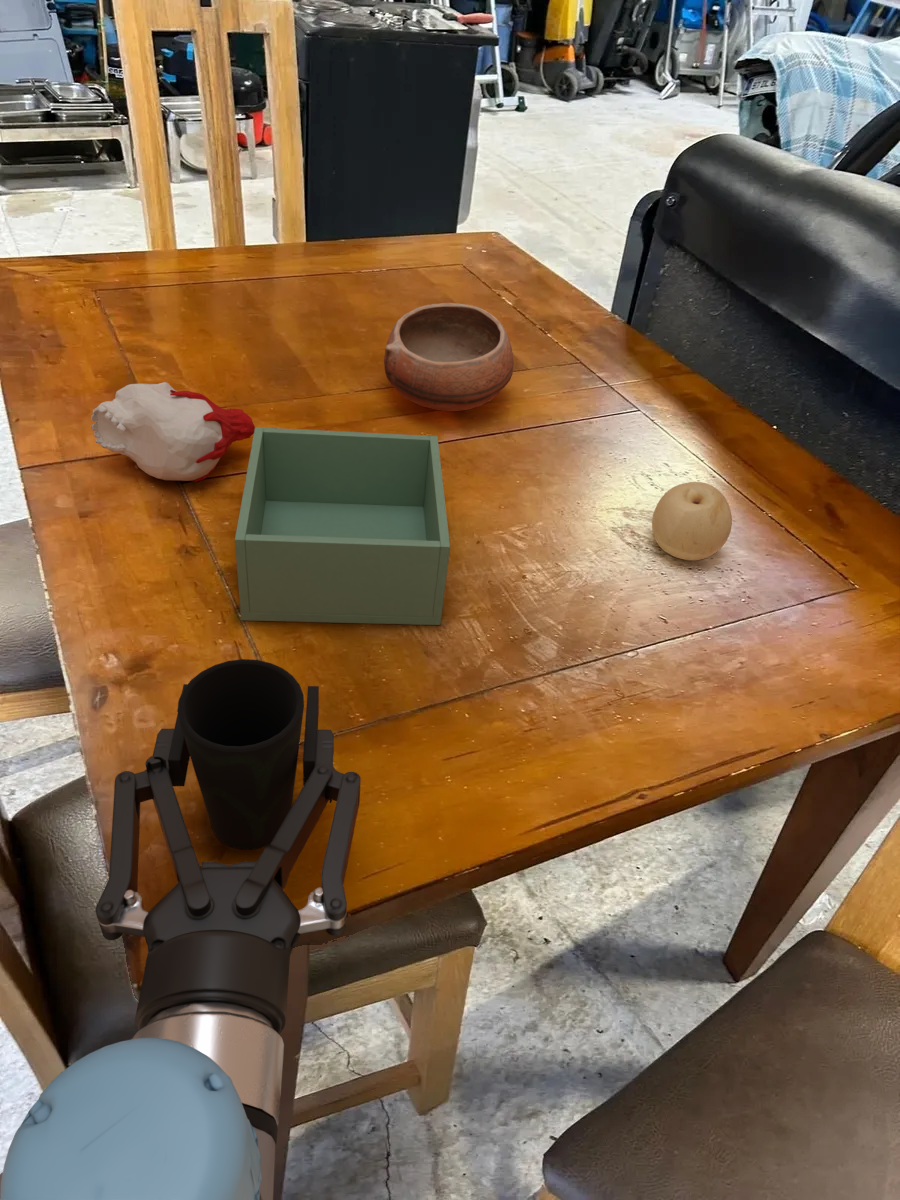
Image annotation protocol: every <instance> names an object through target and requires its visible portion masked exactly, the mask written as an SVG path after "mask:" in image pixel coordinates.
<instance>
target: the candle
mask: <svg viewBox="0 0 900 1200" xmlns="http://www.w3.org/2000/svg"><path fill="white" fill-rule="evenodd" d="M90 420H91V422H94V423H92V425H91V430H92V432H93V437H95V439H94V442H95V444H99V445H100V447H101V448H102V449H106V450H108V451H110V452H112V453H118V454H120V455H122V456H126V457H129V459H131V461H133V462H134V463H135V464H136V465H137V467H138V468H139V469H140V470H142V471H143V472H144V473H145V474H147V475H149V476H151V477H154V478H155V479H158V480H164V481H183V482H187V481H188V482H189V481H191V483H194V482H195V483H196V482H201V481H203V480H205V479H206V478H207V477H209V476H210V475H211V474H212V473H213V472H214V470H215V469H216V467H217V465H218V463H219V462H220V460H221V458H222V457H223V456H224V455H225V454H226V453H227V452H228V450H229V448H230V446H231V445H232V444H233V443H235V442H239V441H244V440H245V439H250V438H251V437H252V436H254V430H255V427H256V426H255V424H254V422H253V418H252V417H251V416H250V415H249V414H248V413H246V412H245V410H243V409H241V408H232V407H231V408H227V409H226V408H223V407H221V406H219V405H217V404H216V403H215V402H214V401H212V400H210V398H209V397H208V396H206V395H205V394H203V393H200V392H195V391H190V390H178V391H177V390H175V388H173V387H172V386H171V385H170V383H168V382H166V381H163V382H159V383H131V384H130V383H129V384H127V385H125V386H123V387H122V388H119V389H118V390H116V392H115V398H113V399H112V400H108V401H107V400H106V401H103V402H101V403H99V404H98V406H96V407H95V408H93V410H92V415H91V416H90Z"/></svg>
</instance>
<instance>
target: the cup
mask: <svg viewBox="0 0 900 1200" xmlns="http://www.w3.org/2000/svg"><path fill="white" fill-rule="evenodd" d="M186 684H187V686H186V687H185V688H184V689H183V688H182V690H183V691H182V690H181V694H180V696H179V698H178V701H177V710H176V712H177V714H178V717H179V721H180V724H181V728H182V731H183V734H184V738H185V741H186V744H187V747H188V751H189V754H190V760H191V764H192V767H193V770H194V773H195V777H196V781H197V783H198V787H199V790H200V795H201V797H202V799H203V803H204V807H205V810H206V813H207V816H208V820H209V823H210V826H211V830H212V832H213V833H214V835H215V837H216V838H217V839H218V840H219V841H221V843H222V844H224V845H226V846H228V847H230V848H233V849H237V850H244V851H245V850H246V851H247V850H256V849H257V850H258V849H261V848H265V847H266V846H267V845H268V846H269V845H270V844H271V842H272V840H273V839H274V837H275V835H276V833H277V832H278V830H279V828H280V826H281V825H282V823H283V821H284V820H285V818H286V816H287V814H288V813H289V811H290V809H291V807H292V806H293V800H294V791H295V783H296V775H297V769H298V768H297V767H298V758H299V750H300V744H301V743H300V741H301V736H302V735H301V734H302V727H303V719H304V717H303V716H304V709H305V696H304V692H303V690H302V687H301V685H300V683H299V682H298V680H297V679H296V678H295V677H294V675H292V674H291V673H290V672H288V671H287V670H286V669H284V668H283V667H281V666H278V665H276V664H275V663H272V662H269V661H264V660H260V659H247V658H241V659H232V660H227V661H223V662H220V663H217V664H214V665H213V666H210V667H207V668H206V669H204V670H201V672H199V673H198V674H197V675H195V676H194V677H193V678H191V680H190V681H189V682H188V683H186Z"/></svg>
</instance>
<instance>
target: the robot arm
mask: <svg viewBox="0 0 900 1200" xmlns="http://www.w3.org/2000/svg"><path fill="white" fill-rule="evenodd" d="M187 684H188V683H183V685H182V690H181V692H182V691H183V689H184V688H185V687H186V686H187ZM319 689H320V686H318V685H307V692H306V693H307V694H306V705H305V706H306V707H305V724H304V738H303V752H302V788H301V790H300V792H299V793H298V795H297V797H296V799H295V800H294V802H293V803H292V807H291V809H290V811H289V813H288V814H287V816H286V818H285V820H284V821H283V823H282V825H281V826H280V828H279V830H278V832H277V833H276V835H275V837H274V839H273V840H272V842H271V844H269V845H266V846H264V849H262V850H263V851H262V852H261V854H260V856H259V857H258V859H257V861H240V862H236V863H233V864H226V863H221V862H217V861H201V865H200V862H199V860H198V857H197V854H196V850H195V847H194V846H193V843H192V840H191V837H190V834H189V831H188V828H187V825H186V822H185V818H184V816H183V812H182V810H181V807H180V804H179V801H178V797H177V794H176V792H175V788H174V787H185V785H186V780H187V774H188V769H189V763H190V760H191V757H190V754H189V751H188V747H187V744H186V741H185V738H184V734H183V731H182V728H181V724H180V721H179V717H178V713H177V714H176V720H175V723H174V728H161V729H160V730H159V732H158V733H157V735H156V739H155V742H154V748H153V752H152V755H151V756H149V757H148V759H146V760H145V770H143V771H139V772H137V773H134V772H132V771H129V770H128V771H127V770H125V771H121V772H120V773H118V774H117V775H116V776H115V779H114V787H113V789H114V790H113V803H112V808H113V809H112V819H111V820H112V821H111V823H112V824H111V836H110V838H111V839H110V853H109V854H110V855H109V871H108V880H107V882H106V884H105V887H104V889H103V891H102V893H101V894H100V897H99V900H98V902H97V903H96V906H95V908H94V909H95V916H96V918H97V922H98V925H99V928H100V931H101V933H102V937H103V938H104V939H105V940H108V941H115V940H118V939H119V938H121V937H122V936H123V935H129V936H136V937H141V938H144V939H145V943H146V945H147V954H146V959H145V963H144V964H145V965H144V970H143V975H142V980H141V985H140V990H139V996H138V1000H137V1007H136V1011H135V1018H134V1024H135V1027H136V1029H137V1030H138V1031H137V1032H135V1034H134V1035H133V1036H132V1038H131V1039H126V1040H122V1041H118V1042H115V1043H111V1044H108V1045H105V1046H103V1047H101V1048H99V1049H96V1050H95V1051H92V1052H90V1053H88V1054H85V1056H83V1057H81V1058H79V1059H78V1060H76V1061H75V1062H74V1063H72V1064H71V1065H69V1066H68V1067H66V1068H65V1069H64V1070H62V1071H61V1072H60V1073H58V1074H57V1076H55V1077H54V1078H53V1079H52V1080H51V1081H50V1082H49V1084H47V1086H46V1088H45V1089H44V1090H43V1091H42V1092H41V1093H40V1094H39V1097H38V1099H37V1100H36V1102H35V1103H34V1104H33V1105H31V1108H29V1110H28V1111H27V1112H26V1115H25V1117H24V1119H23V1120H22V1122H21V1124H20V1125H19V1127H18V1128H17V1130H16V1131H15V1133H14V1135H13V1137H12V1140H11V1142H10V1145H9V1147H8V1149H7V1153H6V1157H5V1160H4V1164H3V1169H2V1172H1V1173H0V1200H274V1185H275V1184H274V1182H275V1163H276V1160H275V1159H276V1147H277V1144H278V1130H279V1122H280V1110H281V1109H280V1108H281V1094H282V1080H283V1067H284V1066H283V1064H284V1051H285V1043H284V1040H283V1037H282V1036H281V1035H280V1034H281V1033H282V1032H283V1030H284V1029H285V1027H286V1023H287V1021H286V1020H287V1007H288V990H289V979H290V978H289V976H290V965H291V964H290V961H291V954H292V951H293V949H294V947H295V945H297V943H298V941H299V939H300V937H301V935H303V934H308V933H313V932H318V931H319V932H320V931H323V930H325V931H326V933H327V934H328V935H330V936H332V937H338V936H341V935H342V934H344V932H345V931H346V928H347V908H348V907H347V906H348V903H347V898H346V892H345V887H344V884H345V880H346V874H347V870H348V869H347V868H348V863H349V860H350V859H349V858H350V855H351V854H350V853H351V849H352V844H353V839H354V832H355V827H356V823H357V818H358V813H359V807H360V801H361V783H362V779H361V775H360V774H359V773H358V772H355V771H347V772H345V773H343V772H340V771H338V770H337V769H336V768H335V766H334V753H335V751H334V749H335V735H334V732H333V731H332V729H319V715H320V714H319V713H320V711H319V710H320V706H319V705H320V698H319V697H320V690H319ZM150 800H152V801H153V805H154V808H155V812H156V815H157V818H158V821H159V825H160V829H161V831H162V835H163V839H164V841H165V845H166V848H167V851H168V855H169V859H170V861H171V864H172V868H173V871H174V875H175V878H176V882H177V883H176V884H175V885H174V886H172V888H171V889H170V890H169V891H168V892H167V893H166V894H165V895H164V896H162V898H161V899H160V900H159V901H158V902H157V903H156V904H155V905H153V907H152V908H151V909H149V911H147V910H145V905H144V901H143V897H142V895H141V894H140V892H138V887H139V863H140V861H139V860H140V859H139V858H140V833H141V832H140V827H141V803H144V802H147V801H150ZM333 801H334V802H335V807H334V812H333V817H332V821H331V824H330V825H331V826H330V830H329V836H328V840H327V843H326V848H325V853H324V857H323V861H322V867H321V876H320V885H321V886H317V887H315V888H314V889H313V890H312V891H311V892H310V893H309V895H308V898H307V903H306V904H305V906H304V907H302V908H300V909H298V908H297V907H296V906H295V904H294V903H293V902H292V900H291V899H290V898H289V896H288V895H287V894H286V893H287V892H285V891H284V889H286V887H287V883H288V879H289V876H290V874H291V872H292V870H293V868H294V866H295V864H296V863H297V861H298V859H299V858H300V856H301V853H302V852H303V849H304V848H305V846H306V844H307V842H308V841H309V838H310V837H311V835H312V833H313V831H314V830H315V827H316V826H317V824H318V822H319V820H320V818H321V816H322V815H323V813H324V811H325V809H326V808H327V805H328V803H329V804H332V802H333Z"/></svg>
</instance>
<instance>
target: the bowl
mask: <svg viewBox="0 0 900 1200" xmlns="http://www.w3.org/2000/svg"><path fill="white" fill-rule="evenodd" d="M383 359H384V361H383V365H384V372H385V377H386V379H387V381H388V383H389V384H390V385H391V386H392V388H393V389H395V391H396V392H398V393H399V394H400V395H401V396H402V397H404V399H406V400H408V401H410V402H412V403H414V404H416V405H419V406H420V407H423V408H427V409H428V408H429V409H432V410H437V411H443V412H461V411H467V410H472V409H475V408H478V407H481V406H483V405H484V404H486V403H488V402H490V401H492V400H493V399H495V398H496V397H497V396H498V395H499V394H500V391H502V390H503V389H504V388H505V387H506V386H507V385H508V384H509V383H510V382H511V380H512V377H513V373H514V366H515V365H514V364H515V363H514V361H515V360H514V352H513V348H512V344H511V340H510V337H509V335H508V331H507V330H506V329H505V327H504V325H503V323H502V322H501V321H500V320H499V319H498V318H497V317H496V316H494V315H493V314H492V313H490V312H489V311H487V310H485V309H483V308H481V307H479V306H475V305H472V304H471V305H470V304H467V303H455V302H441V303H431V304H426V305H421V306H418V307H416V308H414V309H412V310H410V311H408V312H406V313H405V314H404V315H402V316H401V317H400V318H399V319H398V320H397V321H396V322H395V324H394V325H393V328H392V329H391V330H390V333H389V336H388V338H387V341H386V345H385V348H384V358H383Z"/></svg>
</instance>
